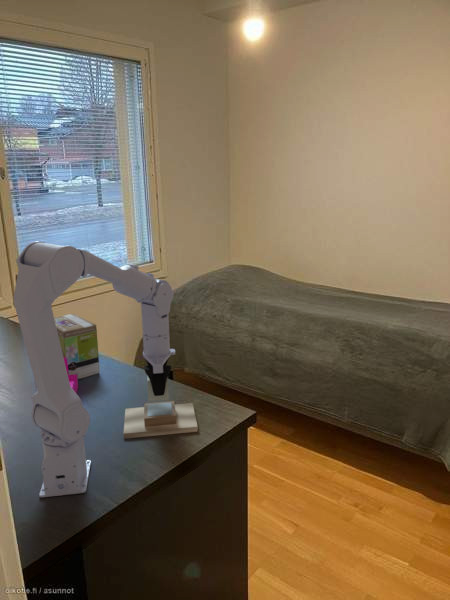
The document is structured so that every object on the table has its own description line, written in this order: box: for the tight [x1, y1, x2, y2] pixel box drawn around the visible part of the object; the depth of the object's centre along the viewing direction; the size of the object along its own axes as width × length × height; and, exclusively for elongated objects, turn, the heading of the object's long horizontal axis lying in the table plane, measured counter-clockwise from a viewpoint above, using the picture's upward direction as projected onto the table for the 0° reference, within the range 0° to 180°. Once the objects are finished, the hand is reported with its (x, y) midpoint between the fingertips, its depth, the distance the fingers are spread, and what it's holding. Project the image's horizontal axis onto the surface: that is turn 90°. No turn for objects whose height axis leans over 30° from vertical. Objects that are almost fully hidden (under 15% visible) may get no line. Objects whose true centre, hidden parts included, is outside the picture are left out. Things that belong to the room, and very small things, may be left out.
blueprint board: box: [122, 400, 199, 439], centre depth 107 cm, size 11×16×3 cm
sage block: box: [146, 375, 170, 402], centre depth 105 cm, size 4×4×5 cm
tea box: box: [54, 313, 101, 380], centre depth 134 cm, size 15×10×15 cm, turn 41°
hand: (158, 389), depth 105 cm, fingers closed on sage block, 4 cm apart
